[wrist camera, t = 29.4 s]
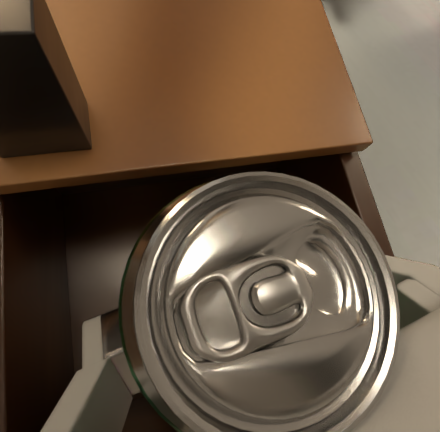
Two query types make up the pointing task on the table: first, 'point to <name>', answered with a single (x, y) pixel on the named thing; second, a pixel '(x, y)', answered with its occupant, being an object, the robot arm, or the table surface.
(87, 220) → the storage box
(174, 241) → the soda can
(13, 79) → the sliding lid
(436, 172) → the table surface
